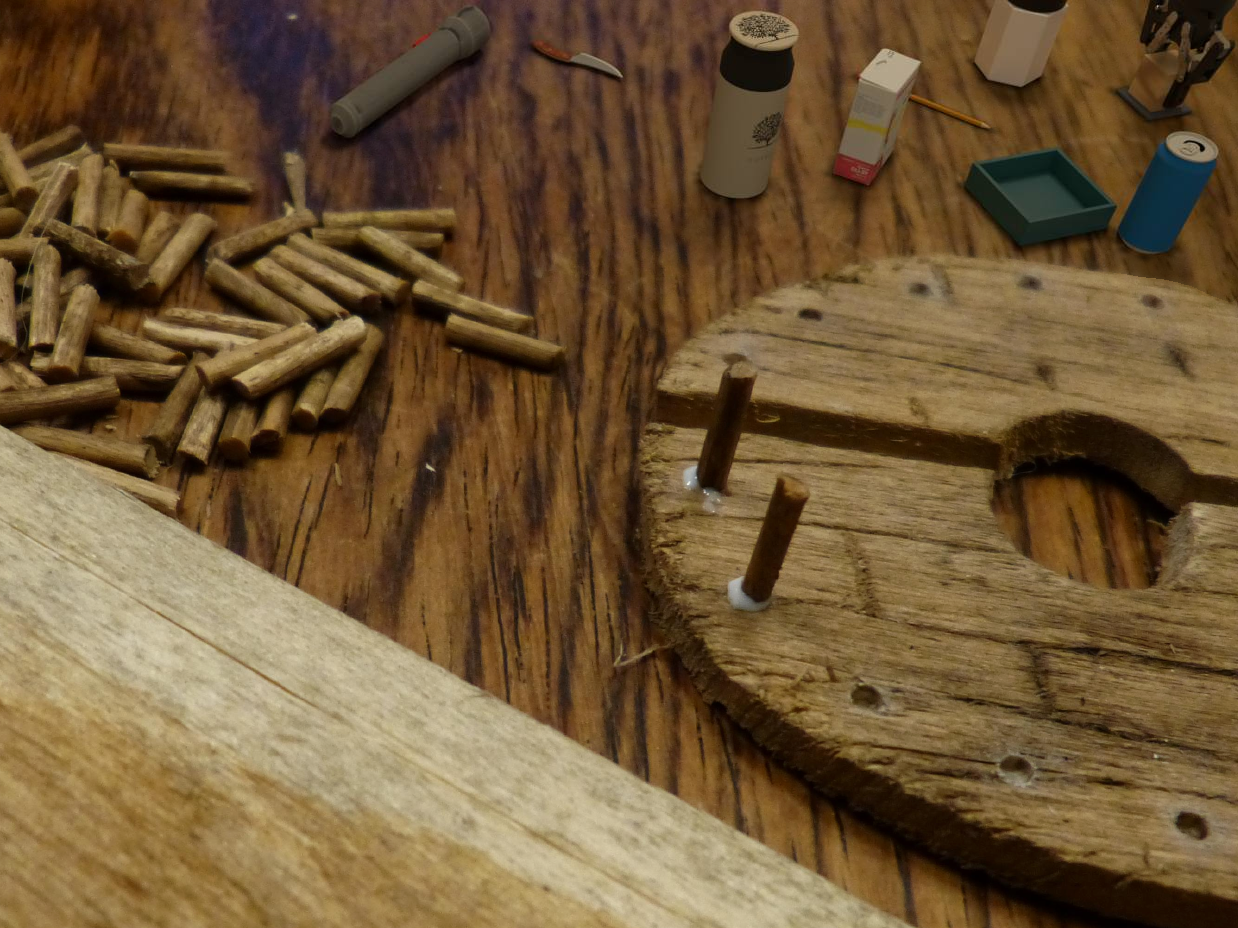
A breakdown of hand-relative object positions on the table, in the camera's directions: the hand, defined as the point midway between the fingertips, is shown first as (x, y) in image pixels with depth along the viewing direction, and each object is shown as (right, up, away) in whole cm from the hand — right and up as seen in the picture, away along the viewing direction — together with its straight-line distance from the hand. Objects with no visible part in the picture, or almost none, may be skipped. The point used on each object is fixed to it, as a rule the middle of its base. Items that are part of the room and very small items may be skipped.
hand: (1156, 94), depth 165 cm
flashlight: (-96, -4, -9) cm, 97 cm away
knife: (-75, +3, -3) cm, 75 cm away
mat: (0, -1, +1) cm, 1 cm away
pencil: (-31, -3, -3) cm, 31 cm away
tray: (-22, -20, -15) cm, 33 cm away
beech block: (0, 0, 0) cm, 1 cm away
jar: (-18, +5, +3) cm, 19 cm away
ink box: (-41, -14, -11) cm, 45 cm away
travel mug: (-58, -18, -15) cm, 62 cm away
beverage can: (-10, -25, -17) cm, 32 cm away
